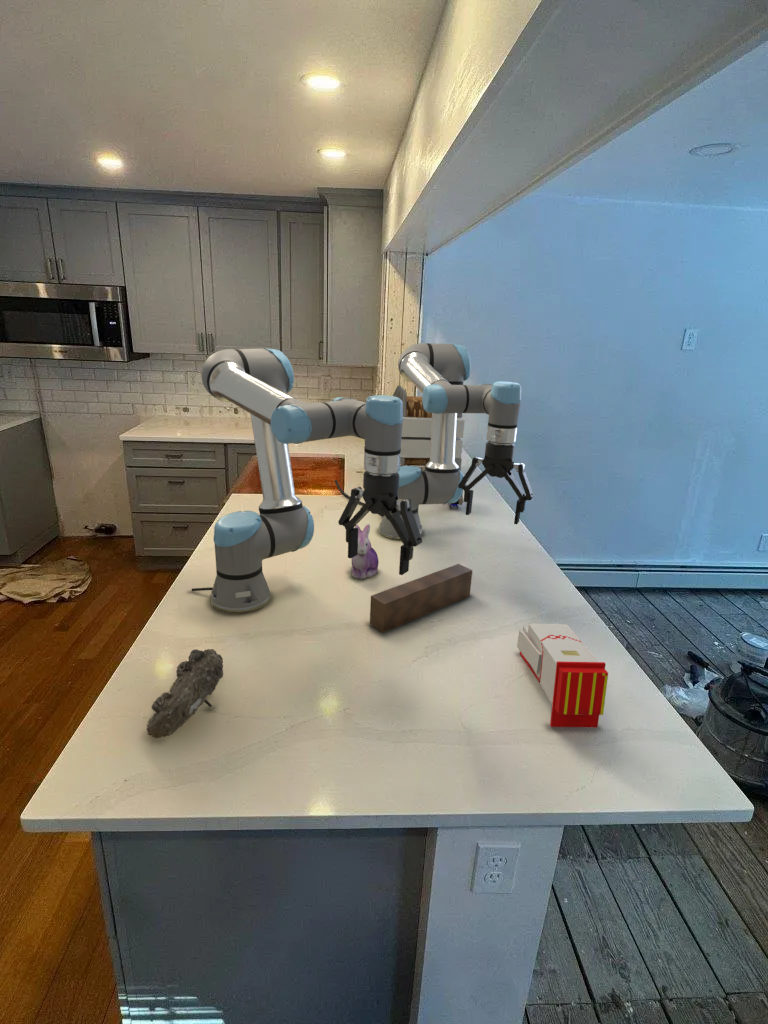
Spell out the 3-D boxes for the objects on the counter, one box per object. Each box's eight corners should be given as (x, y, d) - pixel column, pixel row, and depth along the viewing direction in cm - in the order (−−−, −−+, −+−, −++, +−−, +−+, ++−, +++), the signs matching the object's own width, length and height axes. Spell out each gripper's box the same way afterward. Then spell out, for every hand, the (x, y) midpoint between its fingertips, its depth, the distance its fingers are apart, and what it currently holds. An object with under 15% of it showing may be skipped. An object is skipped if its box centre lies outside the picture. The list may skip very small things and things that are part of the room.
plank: (383, 633, 139) (384, 604, 136) (369, 624, 142) (370, 595, 140) (469, 596, 159) (472, 570, 156) (456, 588, 162) (458, 563, 160)
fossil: (175, 650, 120) (224, 619, 115) (206, 680, 123) (256, 650, 118) (122, 731, 101) (179, 697, 96) (161, 764, 104) (219, 733, 99)
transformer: (382, 463, 289) (386, 382, 275) (445, 464, 293) (451, 384, 279) (390, 482, 257) (394, 392, 243) (460, 483, 261) (468, 394, 247)
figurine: (357, 582, 163) (358, 534, 158) (342, 568, 171) (343, 521, 166) (386, 576, 167) (388, 529, 162) (370, 563, 176) (372, 517, 171)
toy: (562, 608, 134) (617, 669, 105) (557, 660, 137) (609, 734, 107) (511, 607, 134) (552, 667, 104) (507, 659, 136) (545, 733, 107)
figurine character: (463, 514, 226) (458, 498, 239) (465, 496, 223) (460, 481, 236) (446, 513, 226) (442, 497, 239) (448, 496, 222) (444, 481, 236)
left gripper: (323, 464, 121) (322, 555, 129) (425, 487, 109) (417, 586, 116) (344, 458, 127) (342, 544, 135) (443, 479, 115) (435, 573, 122)
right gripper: (450, 438, 151) (444, 513, 158) (545, 451, 141) (534, 531, 148) (460, 433, 157) (453, 506, 164) (551, 446, 147) (540, 522, 154)
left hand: (377, 564), depth 125 cm, fingers open, 13 cm apart
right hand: (492, 518), depth 156 cm, fingers open, 13 cm apart
